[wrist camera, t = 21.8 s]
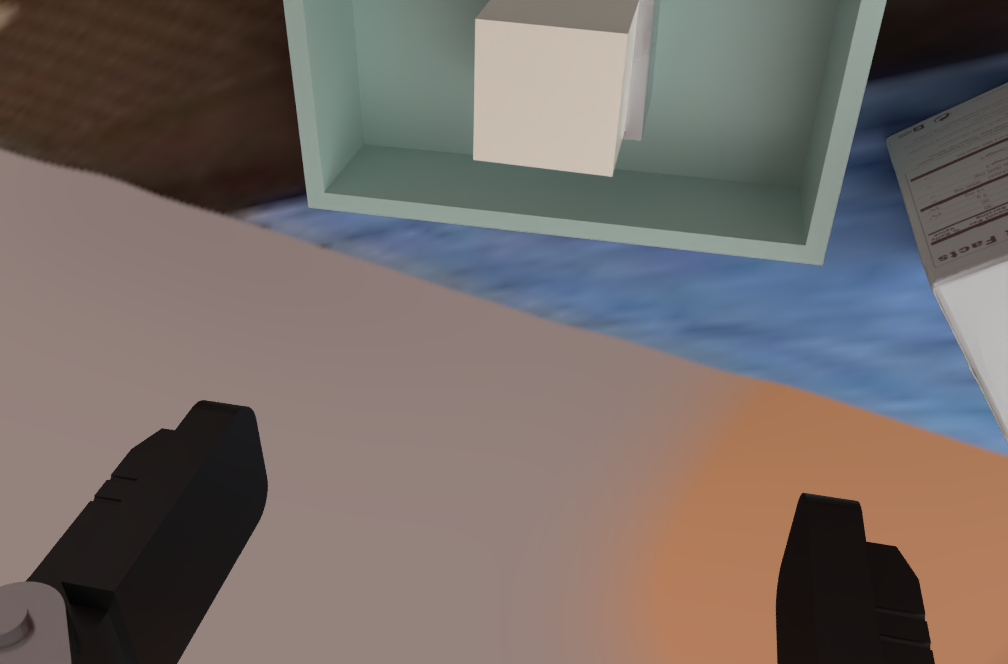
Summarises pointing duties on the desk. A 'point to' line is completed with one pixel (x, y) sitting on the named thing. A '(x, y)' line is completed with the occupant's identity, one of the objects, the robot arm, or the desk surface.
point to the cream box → (553, 82)
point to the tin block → (642, 69)
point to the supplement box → (964, 227)
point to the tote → (640, 164)
